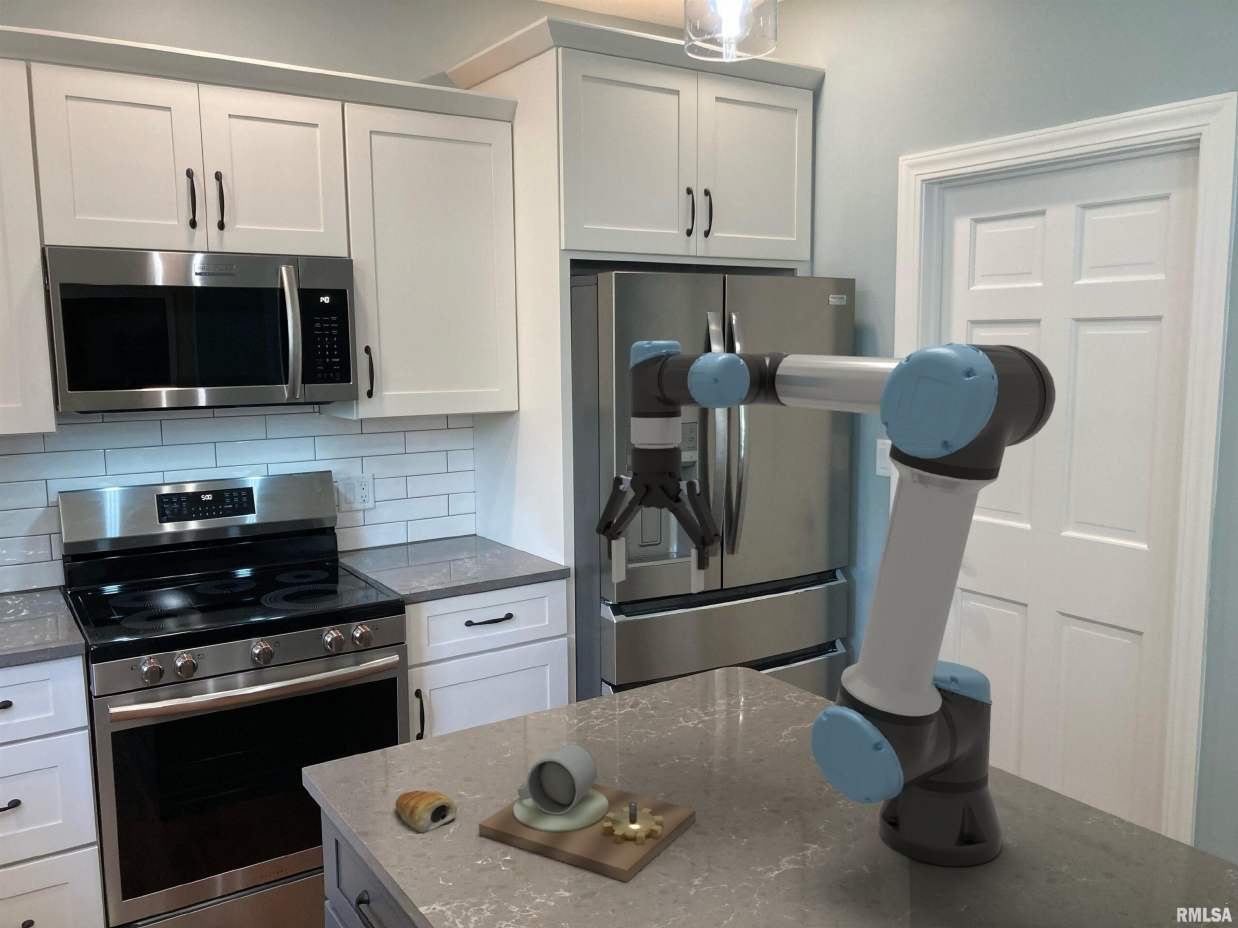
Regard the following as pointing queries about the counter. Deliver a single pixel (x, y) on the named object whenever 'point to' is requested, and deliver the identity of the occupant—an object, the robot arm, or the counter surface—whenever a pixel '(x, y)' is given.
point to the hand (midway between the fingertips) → (657, 586)
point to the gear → (633, 825)
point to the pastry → (425, 809)
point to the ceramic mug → (560, 779)
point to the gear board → (587, 831)
